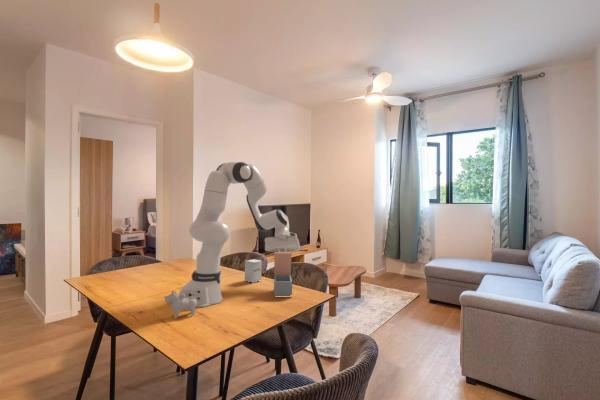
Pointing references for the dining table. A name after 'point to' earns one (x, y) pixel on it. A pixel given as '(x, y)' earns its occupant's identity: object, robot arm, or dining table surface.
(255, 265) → the white cylinder
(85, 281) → the dining table surface
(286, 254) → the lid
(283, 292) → the box
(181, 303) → the grey dog figurine
